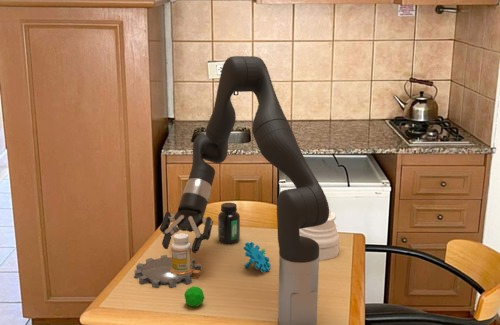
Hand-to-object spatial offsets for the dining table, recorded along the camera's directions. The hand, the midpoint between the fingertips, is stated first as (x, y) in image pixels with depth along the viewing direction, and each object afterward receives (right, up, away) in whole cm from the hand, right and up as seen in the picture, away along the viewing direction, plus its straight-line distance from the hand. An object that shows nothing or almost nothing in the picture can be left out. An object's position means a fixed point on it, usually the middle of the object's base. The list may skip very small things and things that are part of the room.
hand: (179, 250), depth 173 cm
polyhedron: (+5, -12, -14) cm, 19 cm away
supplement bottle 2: (+13, -1, +27) cm, 30 cm away
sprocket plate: (-4, -7, +4) cm, 9 cm away
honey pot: (+40, -3, +19) cm, 44 cm away
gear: (+22, -6, +7) cm, 24 cm away
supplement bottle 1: (0, -6, +3) cm, 6 cm away
